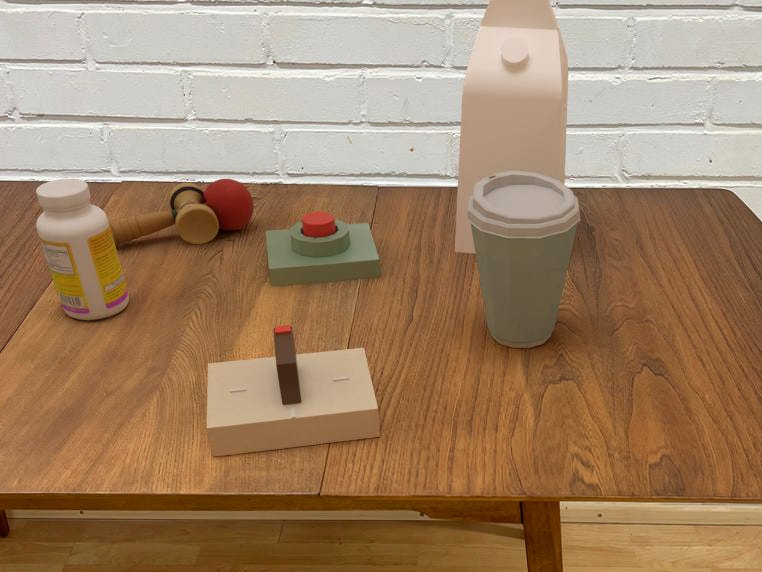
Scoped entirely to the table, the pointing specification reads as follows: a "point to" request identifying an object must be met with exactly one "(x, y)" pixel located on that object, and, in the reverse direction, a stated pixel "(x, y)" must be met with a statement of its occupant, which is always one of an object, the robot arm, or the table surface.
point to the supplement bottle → (80, 251)
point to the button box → (321, 255)
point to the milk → (512, 101)
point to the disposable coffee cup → (522, 252)
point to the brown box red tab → (287, 364)
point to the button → (318, 224)
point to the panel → (290, 421)
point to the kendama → (193, 213)
